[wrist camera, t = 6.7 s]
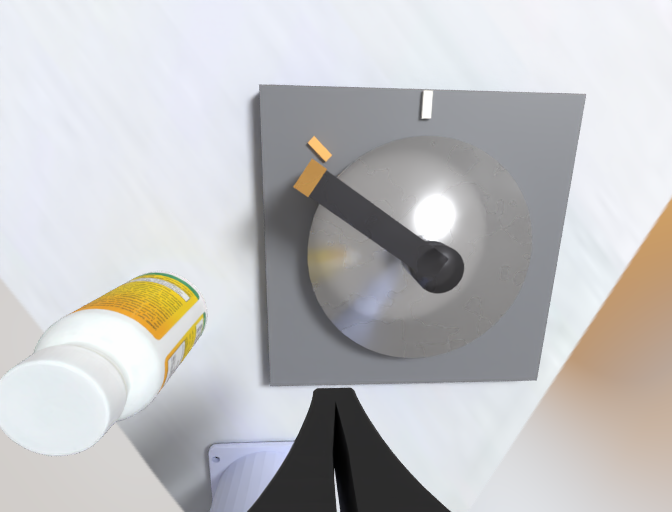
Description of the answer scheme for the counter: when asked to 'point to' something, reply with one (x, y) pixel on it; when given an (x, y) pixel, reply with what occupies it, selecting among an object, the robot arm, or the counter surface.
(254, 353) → the counter surface
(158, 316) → the supplement bottle
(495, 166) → the dial
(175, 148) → the counter surface
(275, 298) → the dial plate
